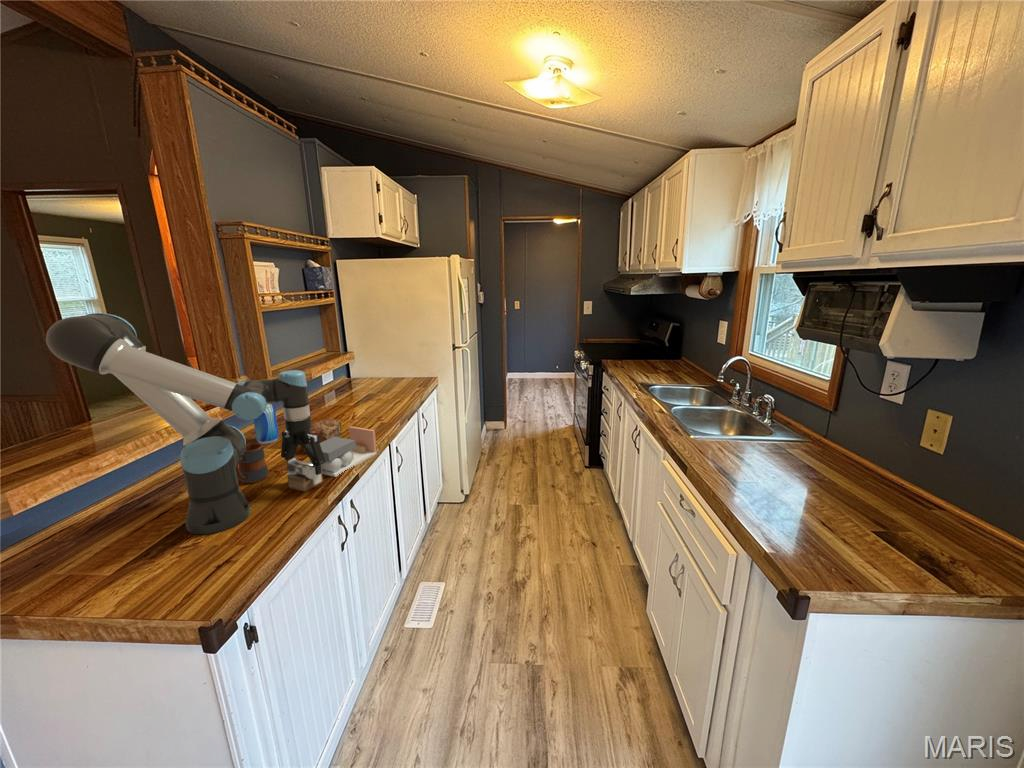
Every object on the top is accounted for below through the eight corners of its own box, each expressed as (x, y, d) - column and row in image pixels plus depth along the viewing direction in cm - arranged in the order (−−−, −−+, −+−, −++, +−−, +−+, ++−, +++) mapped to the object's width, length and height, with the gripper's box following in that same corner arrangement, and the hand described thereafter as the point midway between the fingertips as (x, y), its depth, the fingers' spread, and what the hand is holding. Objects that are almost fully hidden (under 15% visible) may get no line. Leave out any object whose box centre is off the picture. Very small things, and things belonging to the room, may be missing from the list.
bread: (328, 453, 164) (326, 430, 161) (301, 454, 163) (298, 430, 160) (343, 436, 182) (341, 415, 179) (318, 437, 181) (316, 415, 178)
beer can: (252, 442, 174) (247, 406, 170) (271, 436, 181) (266, 401, 177) (264, 446, 170) (259, 409, 166) (283, 439, 177) (278, 404, 173)
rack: (304, 491, 133) (303, 479, 132) (289, 487, 136) (287, 475, 135) (322, 481, 140) (321, 469, 139) (307, 477, 143) (306, 466, 142)
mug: (225, 488, 135) (220, 455, 133) (252, 472, 147) (247, 441, 144) (249, 489, 134) (244, 457, 132) (274, 473, 146) (269, 443, 143)
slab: (307, 456, 145) (306, 448, 144) (335, 443, 157) (334, 436, 156) (329, 461, 142) (328, 453, 141) (355, 447, 153) (355, 440, 153)
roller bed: (308, 471, 147) (305, 446, 145) (353, 449, 168) (350, 426, 165) (334, 477, 143) (331, 451, 141) (376, 453, 164) (374, 430, 161)
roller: (287, 477, 137) (286, 463, 136) (300, 470, 141) (298, 457, 140) (310, 482, 133) (308, 468, 132) (322, 475, 138) (320, 462, 137)
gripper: (333, 418, 132) (339, 481, 137) (282, 410, 140) (290, 469, 145) (314, 425, 125) (322, 491, 130) (262, 416, 133) (271, 478, 138)
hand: (305, 479), depth 138 cm, fingers closed on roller, 10 cm apart
